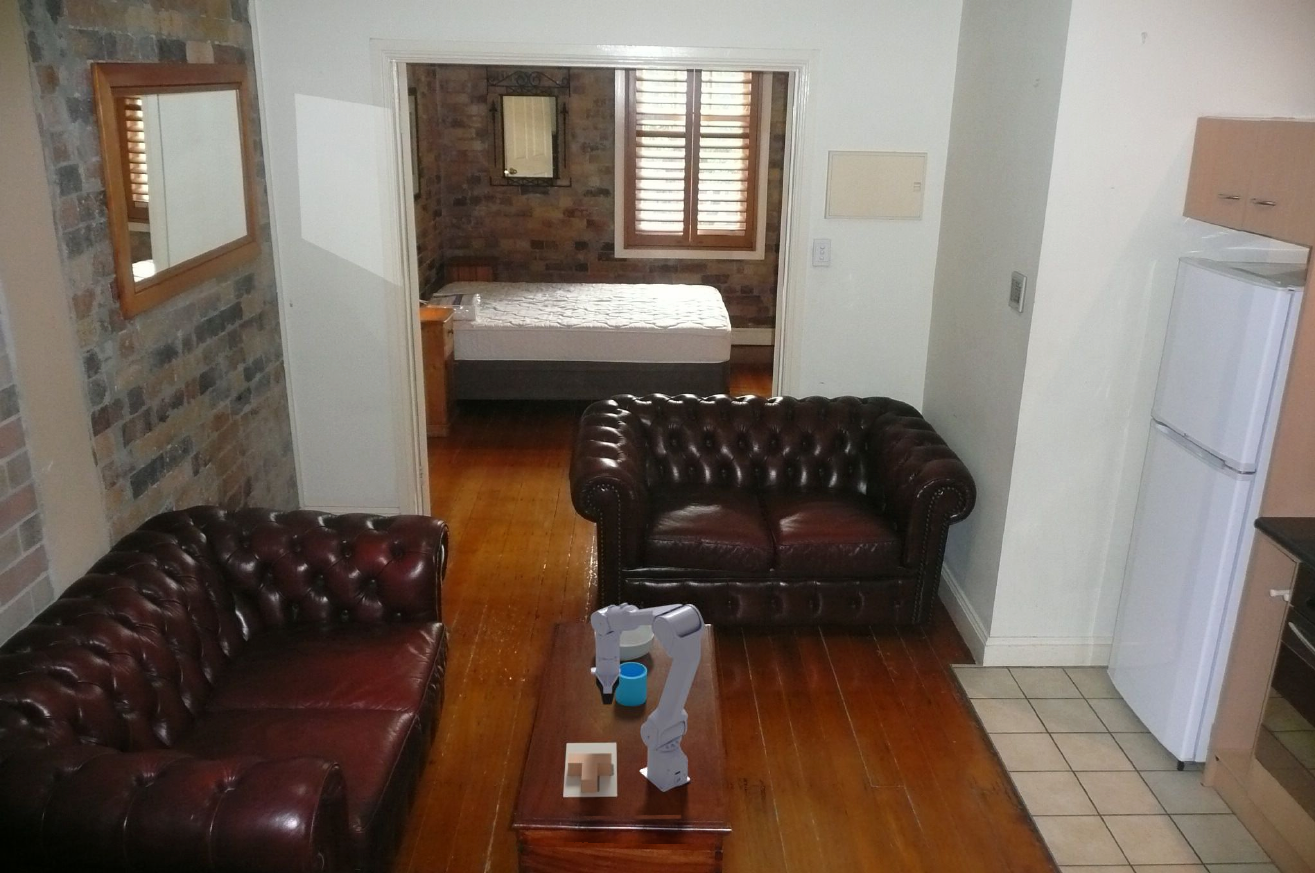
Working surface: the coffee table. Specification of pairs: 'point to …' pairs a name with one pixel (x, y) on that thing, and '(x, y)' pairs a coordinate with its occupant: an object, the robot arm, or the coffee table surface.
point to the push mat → (604, 783)
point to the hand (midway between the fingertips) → (607, 703)
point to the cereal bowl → (635, 642)
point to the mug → (632, 684)
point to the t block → (590, 768)
